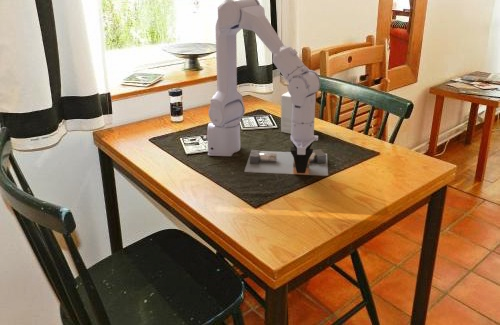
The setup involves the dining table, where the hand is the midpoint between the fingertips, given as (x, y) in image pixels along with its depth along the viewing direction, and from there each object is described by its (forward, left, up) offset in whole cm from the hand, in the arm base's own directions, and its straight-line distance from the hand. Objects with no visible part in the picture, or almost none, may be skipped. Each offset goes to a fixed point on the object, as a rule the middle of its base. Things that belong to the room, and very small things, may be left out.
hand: (301, 168), depth 119 cm
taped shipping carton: (0, 0, -1) cm, 1 cm away
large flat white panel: (-4, +5, -2) cm, 7 cm away
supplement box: (-3, +32, -2) cm, 32 cm away
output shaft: (+2, +6, -2) cm, 7 cm away
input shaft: (-11, +5, -2) cm, 12 cm away
